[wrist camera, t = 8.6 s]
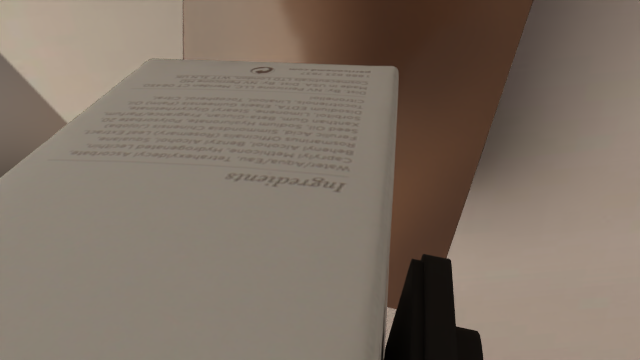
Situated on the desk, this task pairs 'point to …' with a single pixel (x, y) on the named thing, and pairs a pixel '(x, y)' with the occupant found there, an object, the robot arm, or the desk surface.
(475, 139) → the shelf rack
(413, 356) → the robot arm
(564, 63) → the desk surface
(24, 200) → the small box
